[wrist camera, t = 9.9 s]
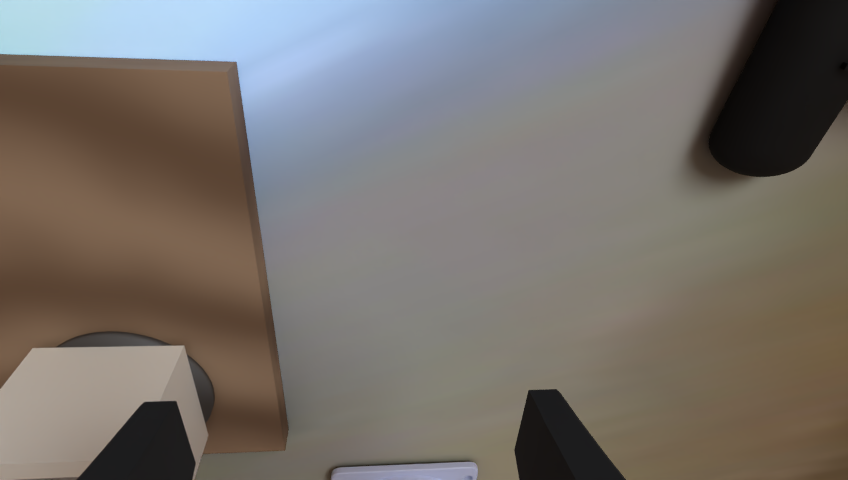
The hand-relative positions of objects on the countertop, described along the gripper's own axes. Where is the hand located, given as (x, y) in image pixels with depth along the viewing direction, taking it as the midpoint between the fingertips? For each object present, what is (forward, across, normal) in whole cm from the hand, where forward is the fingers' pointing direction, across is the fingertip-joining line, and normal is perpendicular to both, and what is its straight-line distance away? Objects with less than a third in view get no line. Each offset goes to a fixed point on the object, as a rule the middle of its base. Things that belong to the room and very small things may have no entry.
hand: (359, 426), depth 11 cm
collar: (+8, +10, +8) cm, 16 cm away
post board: (+10, +10, +4) cm, 15 cm away
